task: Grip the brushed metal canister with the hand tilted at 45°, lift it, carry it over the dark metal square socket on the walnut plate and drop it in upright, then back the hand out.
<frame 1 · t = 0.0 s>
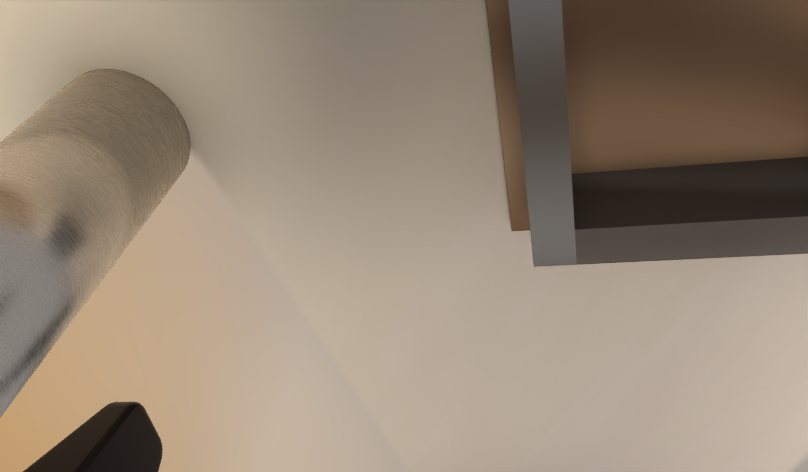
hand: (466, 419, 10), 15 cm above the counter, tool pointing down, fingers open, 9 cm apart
brushed metal canister: (125, 132, 26), on the counter
socket: (693, 44, 21), on the counter
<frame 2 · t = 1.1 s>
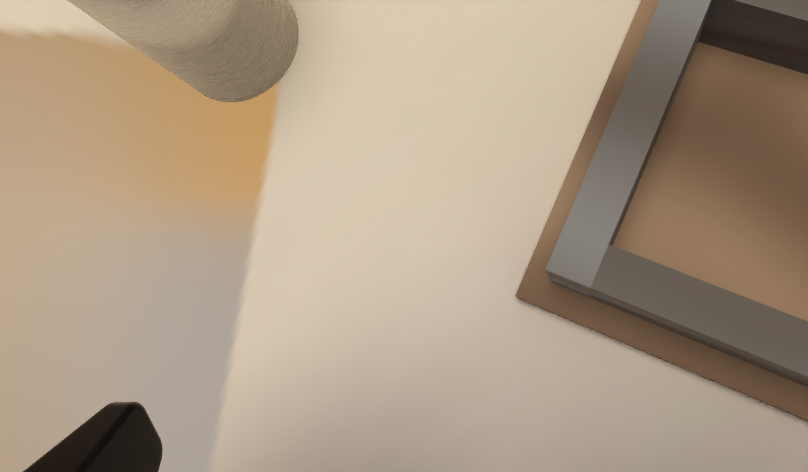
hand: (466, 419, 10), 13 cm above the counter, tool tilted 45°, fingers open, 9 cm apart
brushed metal canister: (238, 40, 27), on the counter
socket: (770, 196, 22), on the counter
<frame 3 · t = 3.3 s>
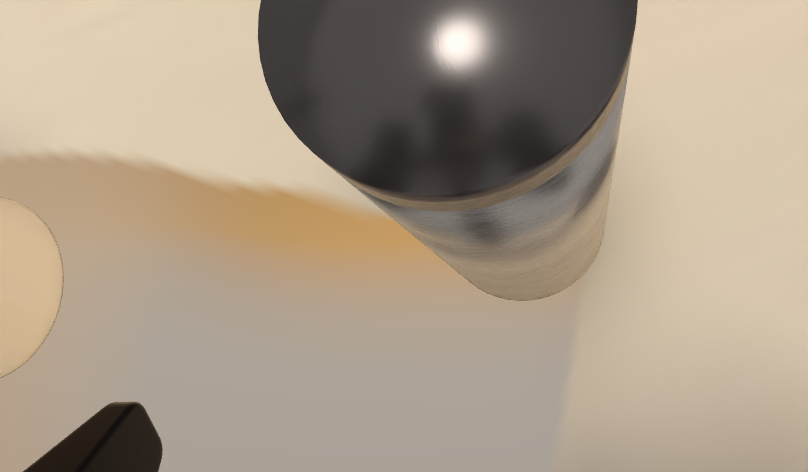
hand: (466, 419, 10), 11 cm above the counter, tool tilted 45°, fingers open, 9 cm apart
brushed metal canister: (521, 220, 21), on the counter
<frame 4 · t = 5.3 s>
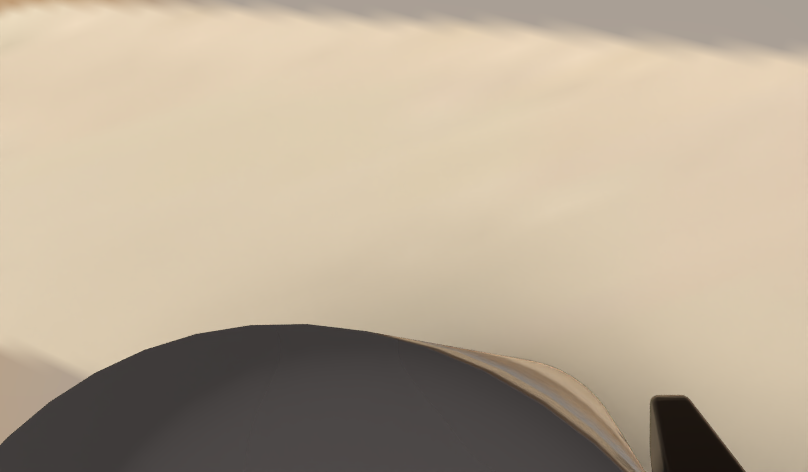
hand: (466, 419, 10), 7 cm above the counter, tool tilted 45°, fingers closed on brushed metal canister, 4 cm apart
brushed metal canister: (515, 469, 16), on the counter, touching gripper
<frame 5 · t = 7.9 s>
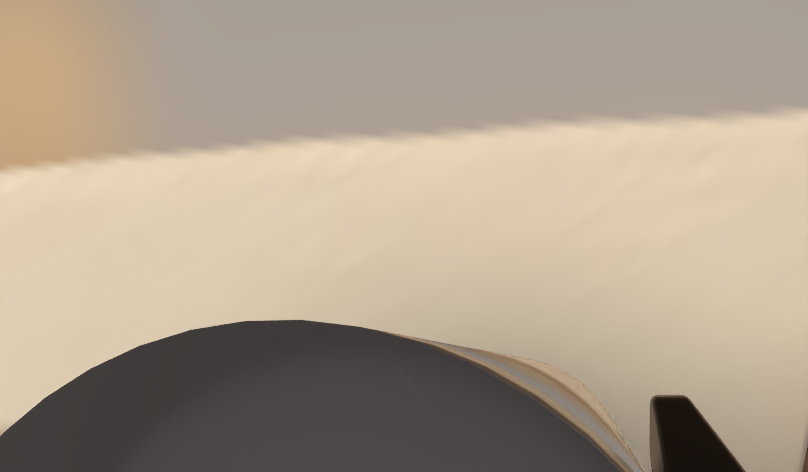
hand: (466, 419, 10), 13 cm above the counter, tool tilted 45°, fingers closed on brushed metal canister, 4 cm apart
brushed metal canister: (513, 468, 16), point 7 cm above the counter, touching gripper
when the fingers open (9 cm above the counter, at t = 10.4 s): brushed metal canister drops 2 cm, resting on socket.
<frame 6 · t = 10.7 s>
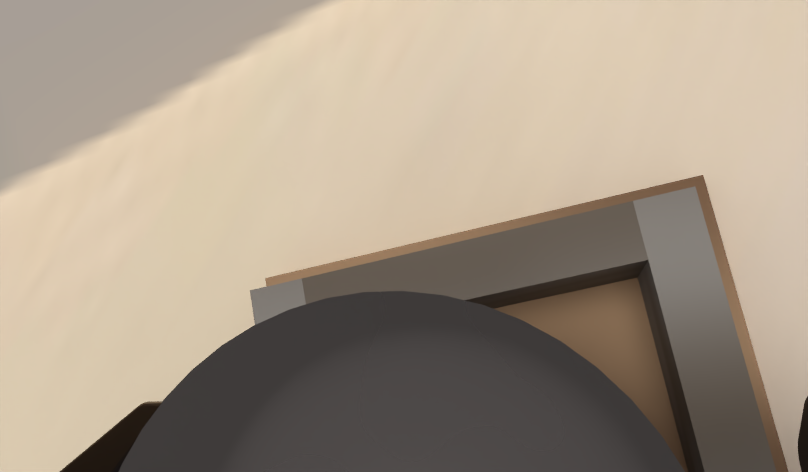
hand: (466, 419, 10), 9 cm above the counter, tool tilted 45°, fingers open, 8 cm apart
brushed metal canister: (521, 460, 18), point 1 cm above the counter, touching socket
socket: (524, 455, 18), on the counter
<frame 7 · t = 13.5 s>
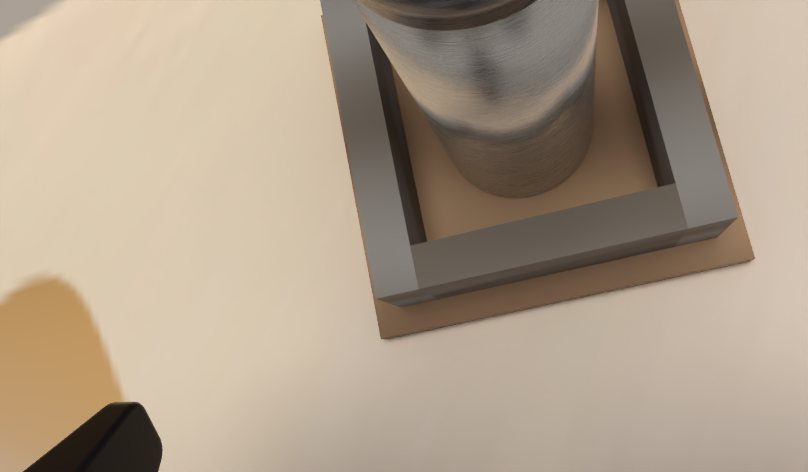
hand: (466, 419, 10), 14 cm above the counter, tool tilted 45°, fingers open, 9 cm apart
brushed metal canister: (517, 127, 24), point 1 cm above the counter, touching socket
socket: (519, 131, 24), on the counter
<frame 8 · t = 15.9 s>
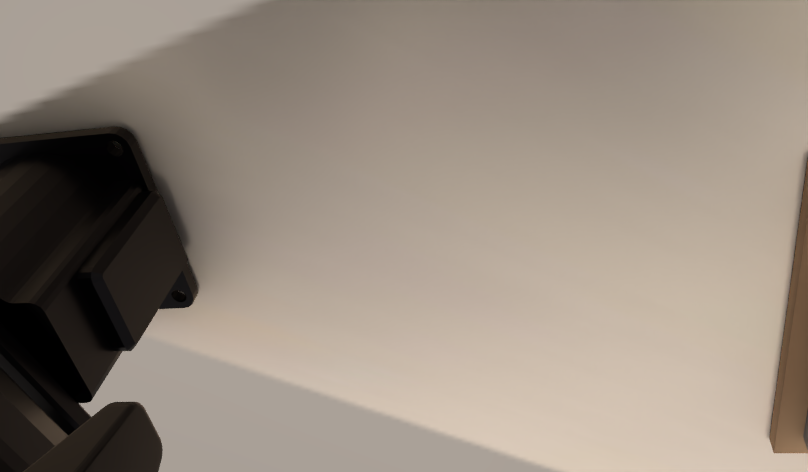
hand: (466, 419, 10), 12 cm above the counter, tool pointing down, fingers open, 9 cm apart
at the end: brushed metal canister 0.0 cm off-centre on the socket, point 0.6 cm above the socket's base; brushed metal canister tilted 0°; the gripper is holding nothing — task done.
